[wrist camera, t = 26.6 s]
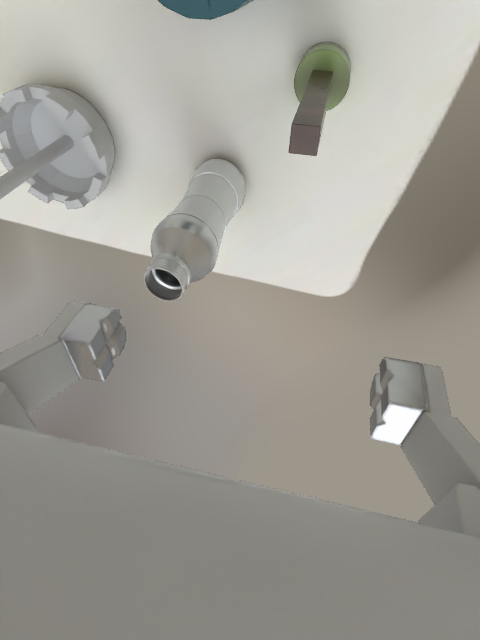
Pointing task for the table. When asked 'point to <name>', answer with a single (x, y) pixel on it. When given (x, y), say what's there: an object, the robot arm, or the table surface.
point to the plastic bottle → (194, 230)
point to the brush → (317, 93)
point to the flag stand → (54, 145)
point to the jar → (203, 7)
